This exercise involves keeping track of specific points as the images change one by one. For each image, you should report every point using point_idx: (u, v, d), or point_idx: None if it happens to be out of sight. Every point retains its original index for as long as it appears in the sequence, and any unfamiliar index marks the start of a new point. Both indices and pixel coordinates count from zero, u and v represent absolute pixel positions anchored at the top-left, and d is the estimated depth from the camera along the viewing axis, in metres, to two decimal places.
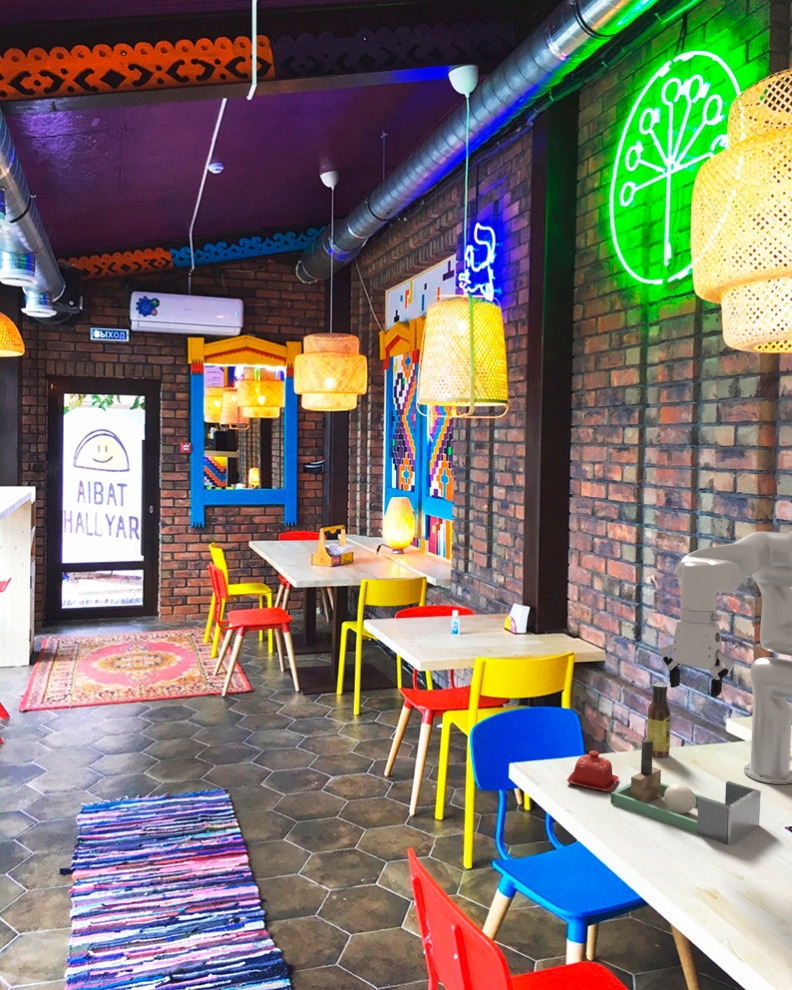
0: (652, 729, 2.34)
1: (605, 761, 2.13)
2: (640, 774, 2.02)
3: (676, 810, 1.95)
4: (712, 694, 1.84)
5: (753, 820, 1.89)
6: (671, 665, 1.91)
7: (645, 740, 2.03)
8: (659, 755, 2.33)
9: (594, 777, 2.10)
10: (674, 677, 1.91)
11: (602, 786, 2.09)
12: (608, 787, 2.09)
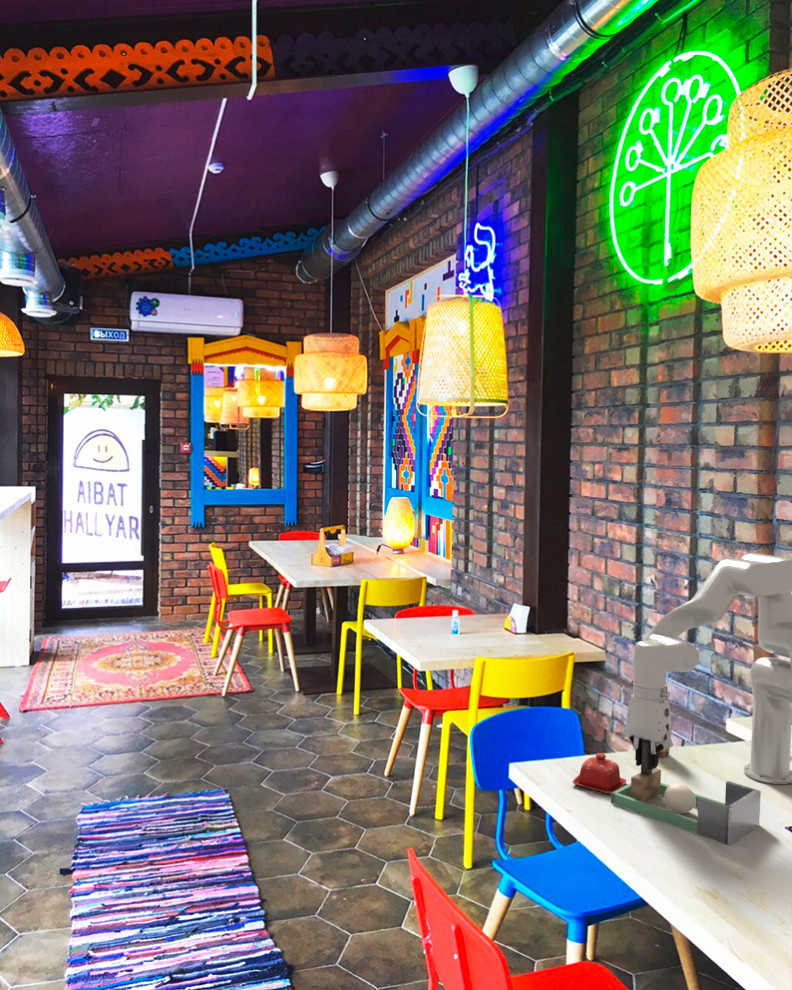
0: None
1: (612, 764, 2.11)
2: (640, 774, 2.02)
3: (676, 810, 1.95)
4: (649, 767, 2.01)
5: (753, 820, 1.89)
6: (635, 744, 2.04)
7: (645, 740, 2.03)
8: (659, 755, 2.33)
9: (599, 779, 2.08)
10: (639, 756, 2.03)
11: (607, 789, 2.07)
12: (613, 790, 2.07)
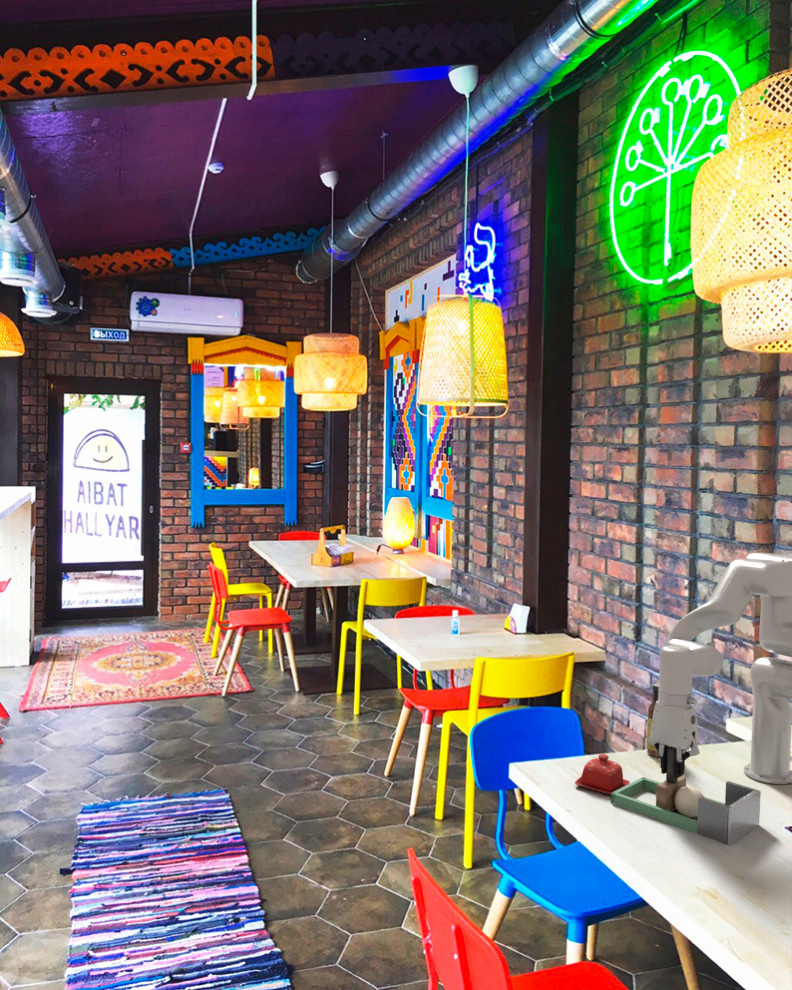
0: None
1: (614, 765, 2.11)
2: (665, 782, 1.98)
3: (687, 813, 1.93)
4: (675, 775, 1.96)
5: (753, 820, 1.89)
6: (660, 751, 1.99)
7: (670, 747, 1.99)
8: None
9: (601, 780, 2.08)
10: (665, 763, 1.98)
11: (609, 790, 2.07)
12: None
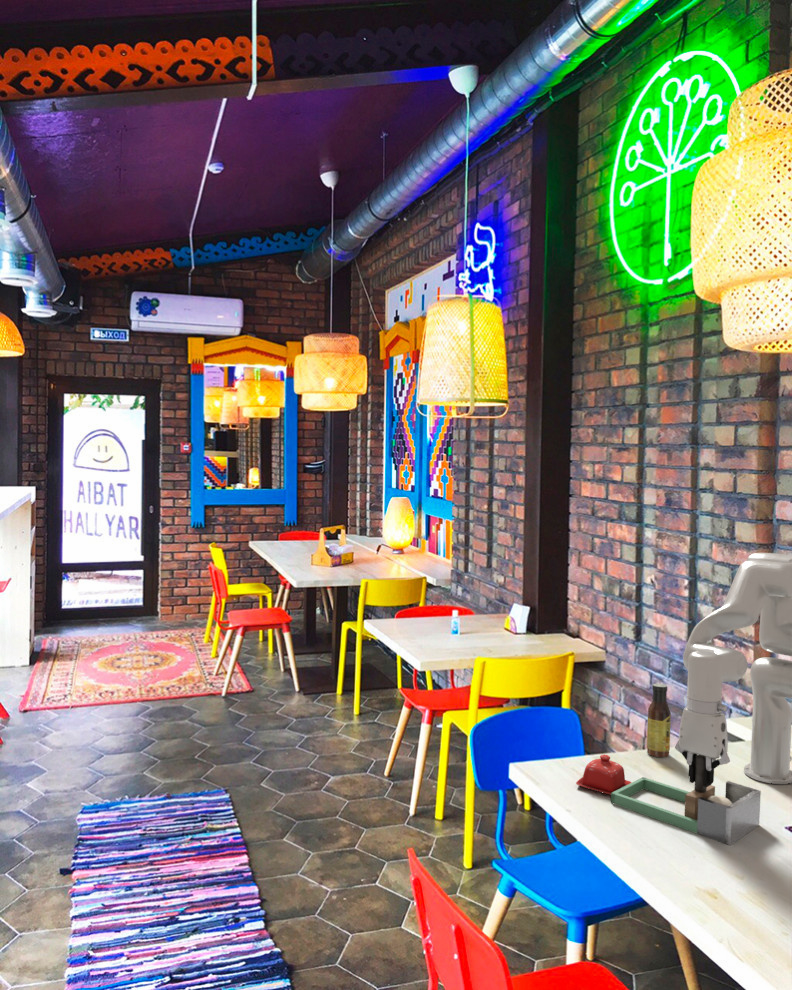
0: (652, 729, 2.34)
1: (616, 766, 2.10)
2: (694, 791, 1.92)
3: None
4: (704, 784, 1.91)
5: (753, 820, 1.89)
6: (689, 759, 1.94)
7: (699, 756, 1.93)
8: (659, 755, 2.33)
9: (602, 781, 2.07)
10: (693, 772, 1.93)
11: (610, 790, 2.06)
12: None
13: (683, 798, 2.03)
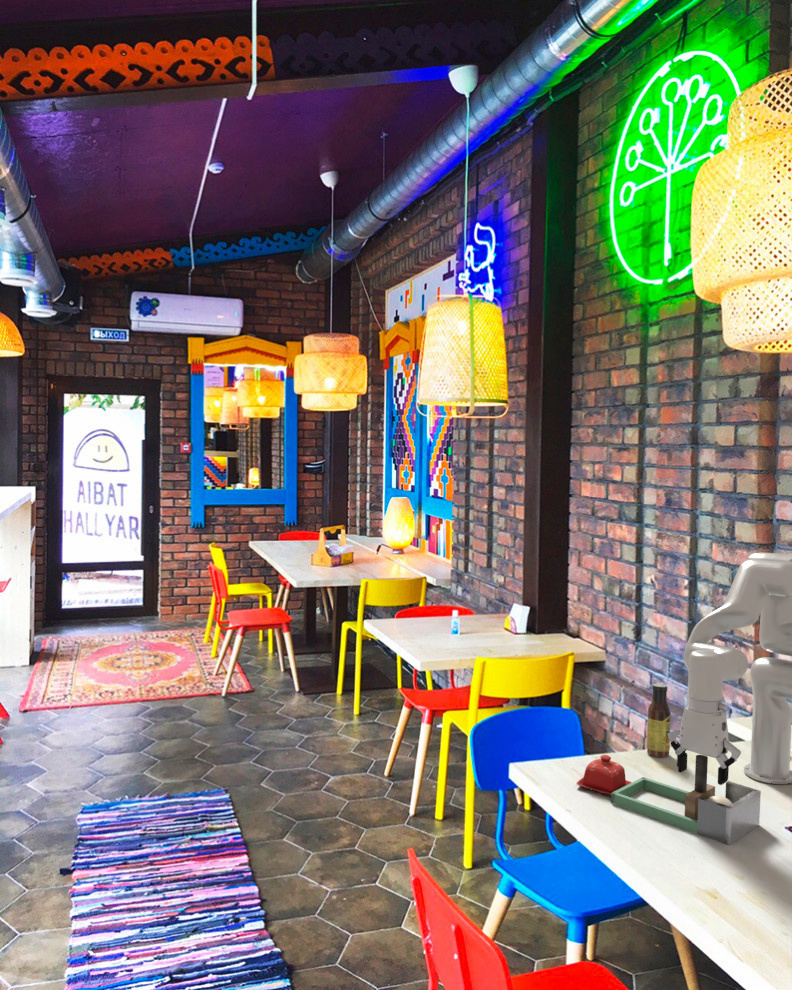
0: (652, 729, 2.34)
1: (617, 766, 2.10)
2: (694, 791, 1.92)
3: None
4: (719, 782, 1.89)
5: (753, 820, 1.89)
6: (678, 750, 1.96)
7: (699, 756, 1.93)
8: (659, 755, 2.33)
9: (603, 781, 2.07)
10: (681, 762, 1.96)
11: (610, 791, 2.06)
12: None
13: (683, 798, 2.03)
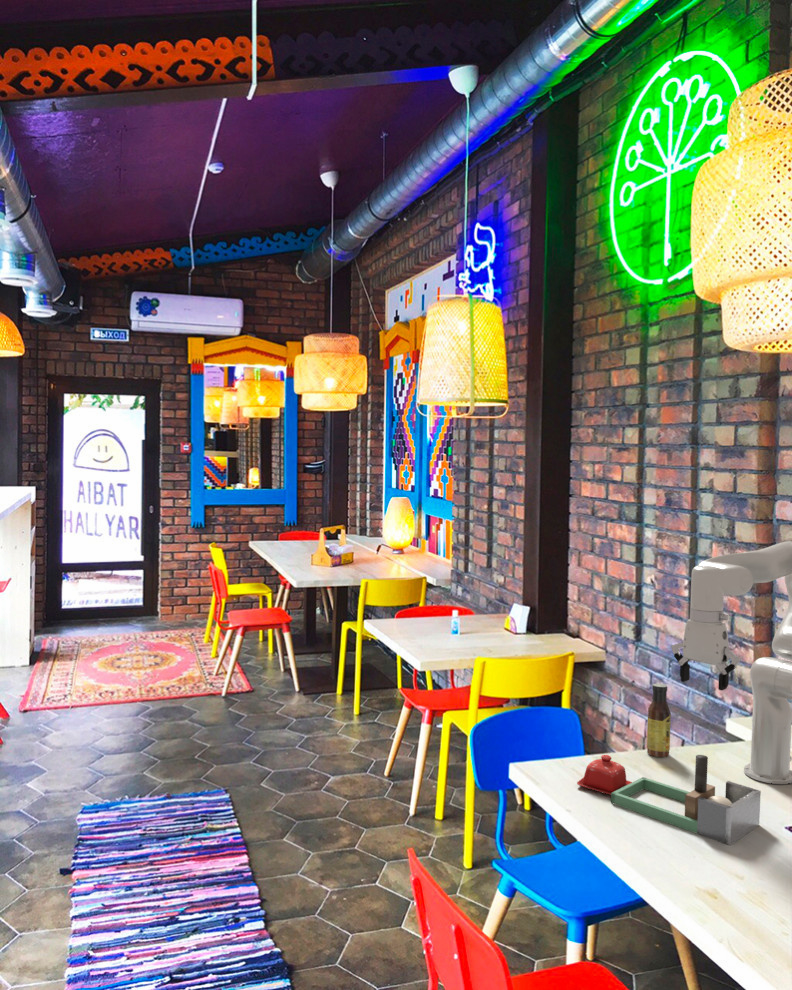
0: (652, 729, 2.34)
1: (617, 766, 2.10)
2: (694, 791, 1.92)
3: None
4: (719, 687, 2.00)
5: (753, 820, 1.89)
6: (681, 661, 2.07)
7: (699, 756, 1.93)
8: (659, 755, 2.33)
9: (603, 781, 2.07)
10: (684, 672, 2.07)
11: (611, 791, 2.06)
12: None
13: (683, 798, 2.03)
